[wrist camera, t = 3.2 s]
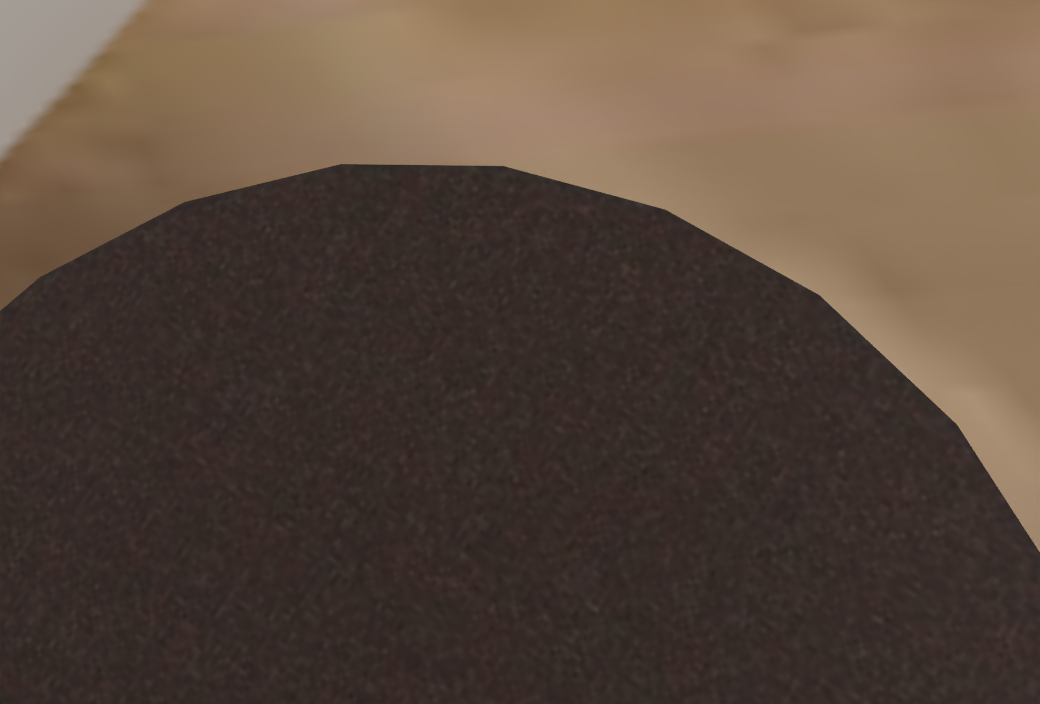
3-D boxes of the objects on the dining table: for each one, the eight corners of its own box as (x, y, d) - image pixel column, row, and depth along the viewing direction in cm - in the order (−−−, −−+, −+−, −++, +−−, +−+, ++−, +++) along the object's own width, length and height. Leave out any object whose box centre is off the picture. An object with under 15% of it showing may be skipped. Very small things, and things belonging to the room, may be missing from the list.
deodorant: (414, 421, 18) (-243, 231, 3) (640, 399, 18) (982, 89, 3) (429, 658, 17) (-404, 1819, 2) (669, 640, 17) (1368, 1854, 2)
